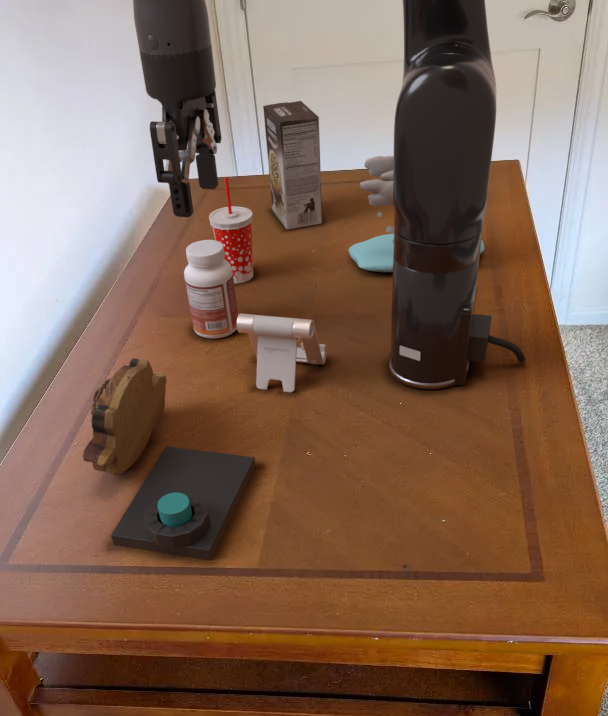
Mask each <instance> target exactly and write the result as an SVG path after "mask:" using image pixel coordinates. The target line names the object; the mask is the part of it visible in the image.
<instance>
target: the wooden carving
mask: <svg viewBox="0 0 608 716" xmlns="http://www.w3.org/2000/svg"><path fill="white" fill-rule="evenodd" d="M167 381H168V379H167V376H166V375H165V374H162V373H157V374H156V373H154V372H153V367H152V365H151V363H150V361H149V360H148V359H144V358H134V357H132V358H131V359H130V361H129V364H128V365H127V364H125V365H123V366H121V367H120V368H119V369H118V370H116V371H115V372H114V373H113V375H112V377H110V378H108V379H106V380H105V381H104V382H103V383H102V384H101V386H100V387H98V388H97V389H96V390H95V392H94V394H93V400H92V401H93V403H92V405H90V414H91V428H92V439H91V440H90V441H89V442H88V443H87V445H86V446H85V448H84V449H83V453H82V459H83V461H84V462H87V463H92V468H93V470H95V471H98V472H104V473H106V474H109V475H112V476H117V475H121V474H122V473H124V472H126V471H128V470H129V469H130V468H132V467H133V466H134V464H135V463H136V462H137V461H138V460H139V458H140V457H141V455H142V454H143V452H144V450H145V449H146V447H147V445H148V443H149V440H150V438H151V436H152V433H153V430H154V427H155V425H156V422H157V421H159V420H160V419H161V418H162V415H163V414H164V412H165V409H166V408H165V406H166V392H167V391H166V388H167Z"/></svg>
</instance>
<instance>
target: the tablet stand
mask: <svg viewBox="0 0 608 716" xmlns="http://www.w3.org/2000/svg"><path fill="white" fill-rule="evenodd" d="M236 331H237V332H238V333H239V334H247V336H248V338H249V341H250V344H251V347H252V350H253V352H254V355H255V357H256V381H255V382H256V383H255V386H256V388H257V389H259V390H265V391H268V389H269V388H268V387H269V383H270V380H276V381H280V382H281V383H282V391H283V392H284V393H293V392H295V390H296V375H297V374H296V372H297V363H304V364H311V365H317V366H318V365H325V364H326V362H327V361H326V360H327V345H326V344H321V343H320V341H319V338H318V334H317V329H316V325H315V321H314V320H313V319H309V318H308V319H307V318H295V317H285V316H272V315H263V314H262V315H261V314H249V313H238V318H237V330H236ZM298 339H301V343H300V346H299V347H298Z"/></svg>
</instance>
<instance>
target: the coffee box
mask: <svg viewBox="0 0 608 716" xmlns="http://www.w3.org/2000/svg"><path fill="white" fill-rule="evenodd" d="M262 108H263V118H264V130H265V131H264V132H265V140H266V151H267V163H268V175H269V176H268V177H269V186H270V199H271V210H272V212H273V213H274V214H275V215H276V217H277V218H278V220H279V221H280V222H281V224H282V225H283V227H284V228H285V229H286V230H295V229H299V228H305V227H310V226H311V227H312V226H317V225H321V224H323V210H322V208H323V207H322V177H321V176H322V175H321V173H322V171H321V141H320V139H321V138H320V117H319V116H318V114H316V113H315V112H314V111H313V110H312V109H311V108H309V107H308V106H307V105H306V104H305V103H304V102H303V101H302V100H297V101H291V102H287V101H286V102H276V103H271V104H266V105H263V106H262Z"/></svg>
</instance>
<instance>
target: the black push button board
mask: <svg viewBox="0 0 608 716" xmlns="http://www.w3.org/2000/svg"><path fill="white" fill-rule="evenodd" d="M256 467H257V466H256V458H255V456H247V455H238V454H232V453H231V454H230V453H223V452H216V451H208V450H199V449H193V448H191V449H190V448H183V447H175V446H167V445H166V446H165V448H164V449H163V451H162V452H161V454H160V455H159V457H158V459H157V460H156V462H155V464H154V465H153V467H152V468H151V470H150V472H149V473H148V475H147V476H146V478H145V479H144V480H143V483H142V484H141V485H140V488H139V489H138V491H137V492H136V494H135V495H134V498H132V500H131V501H130V504H129V505H128V506H127V508H126V510H125V511H124V513H123V514H122V516H121V518H120V520H119V521H118V522H117V524H116V526H115V527H114V529H113V531H112V533H111V534H110V538H111V541H112V544H113V545H114V546H119V547H124V548H130V549H137V550H143V551H148V552H149V551H151V552H155V553H162V554H169V555H173V556H174V555H175V556H182V557H186V558H187V557H188V558H194V559H200V560H205V561H212V560H213V558H214V555H215V553H216V551H217V549H218V547H219V545H220V543H221V540H222V539H223V536H224V534H225V532H226V531H227V529H228V526H229V524H230V522H231V520H232V517H233V516H234V514H235V512H236V510H237V508H238V506H239V503H240V502H241V499H242V497H243V496H244V493H245V491H246V488H247V487H248V484H249V482H250V480H251V478H252V477H253V474H254V472H255V470H256ZM170 493H182V494H185V495H186V496H187V497H188V498H189V500H190V505H191V510H192V518H191V520H190V521H189V522H188V523H186V524H185V525H183V526H178V527H168V526H166V525H164V524H163V523H162V522H161V519H160V515H159V511H158V507H157V504H158V501H159V500H160V499H161V498H162V497H163V496H165V495H167V494H170Z"/></svg>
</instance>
